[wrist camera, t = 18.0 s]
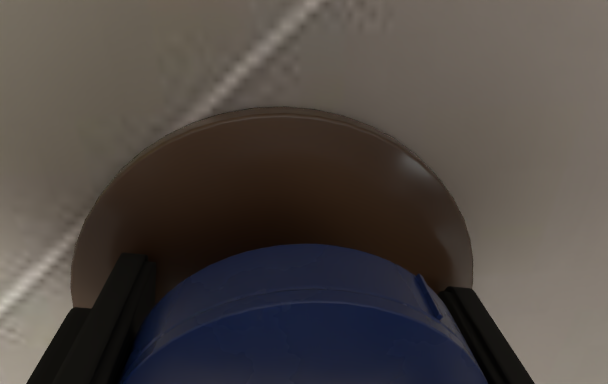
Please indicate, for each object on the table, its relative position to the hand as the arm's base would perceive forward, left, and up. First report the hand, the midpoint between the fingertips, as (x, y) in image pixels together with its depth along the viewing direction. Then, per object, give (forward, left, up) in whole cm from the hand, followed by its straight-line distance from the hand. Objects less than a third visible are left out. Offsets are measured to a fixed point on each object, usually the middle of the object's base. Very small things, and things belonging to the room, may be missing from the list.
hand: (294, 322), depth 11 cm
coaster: (0, 0, -1) cm, 1 cm away
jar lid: (0, 0, +3) cm, 3 cm away
